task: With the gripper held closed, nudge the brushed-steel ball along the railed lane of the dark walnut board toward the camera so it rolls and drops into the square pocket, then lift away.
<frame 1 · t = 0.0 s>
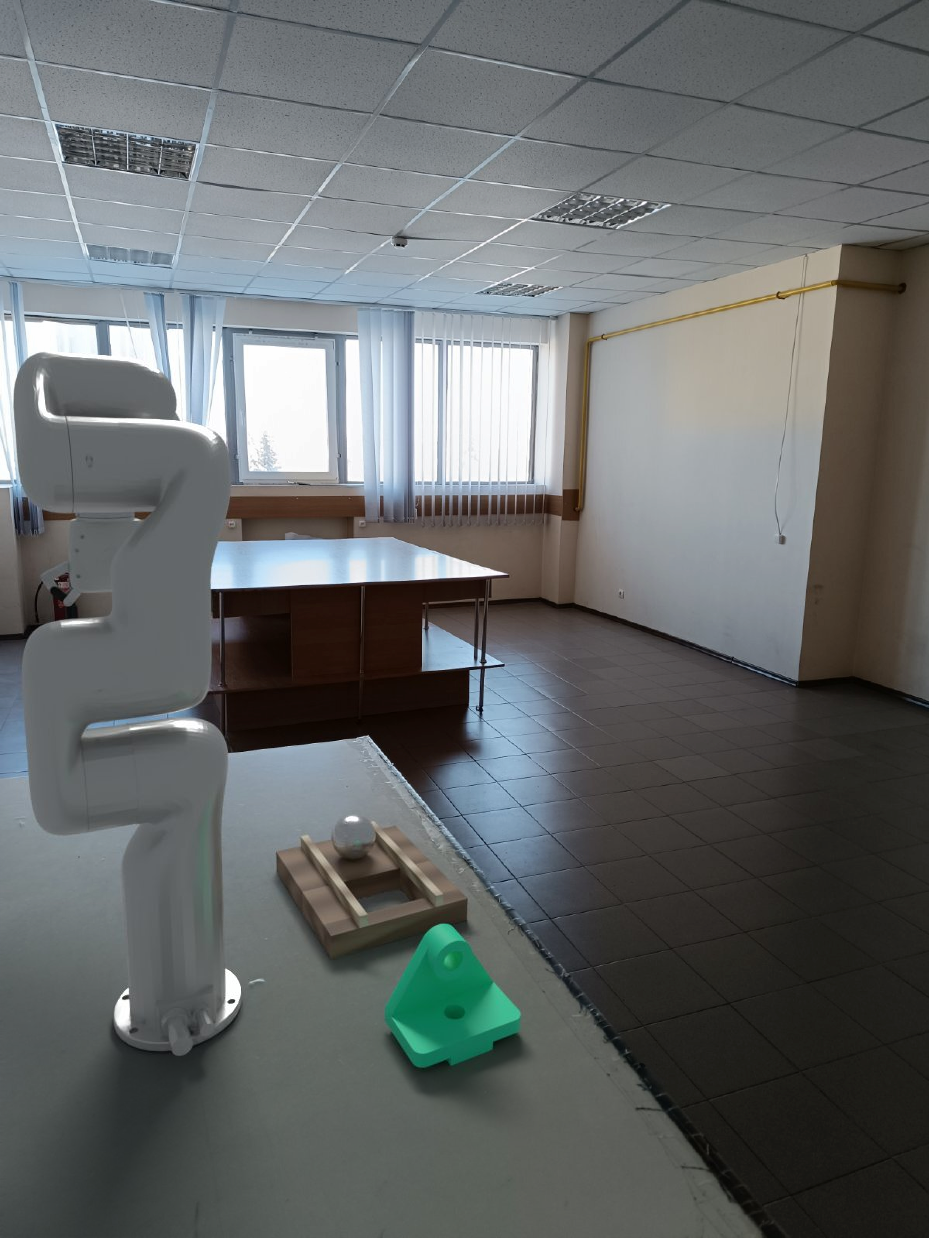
hand: (112, 629, 116), 31 cm above the table, tool pointing down, fingers open, 9 cm apart
steel ball: (353, 836, 110), point 6 cm above the table, touching walnut board
camera mount: (453, 1036, 83), on the table
walnut board: (367, 894, 107), on the table
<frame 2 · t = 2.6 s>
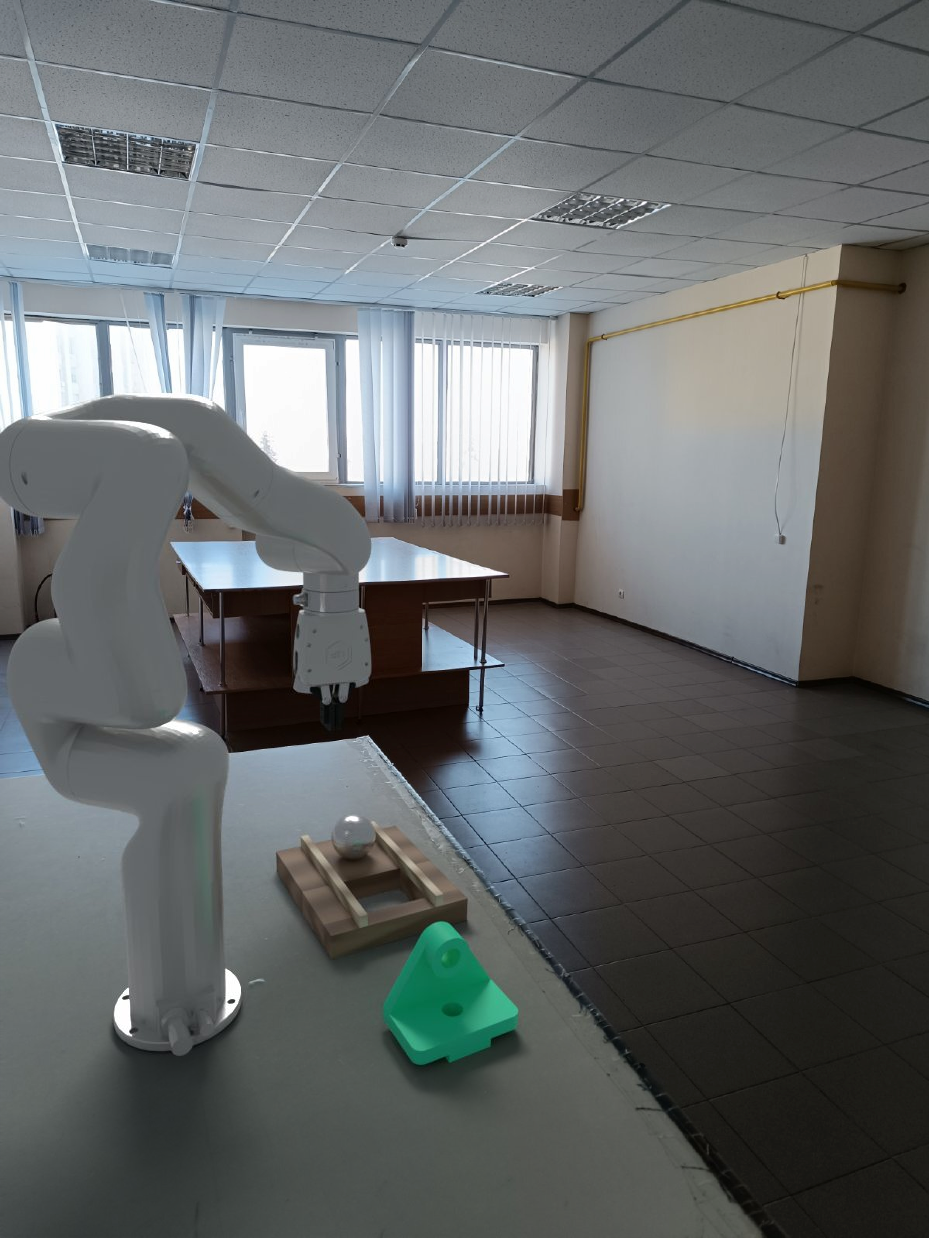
hand: (332, 727, 115), 19 cm above the table, tool pointing down, fingers closed
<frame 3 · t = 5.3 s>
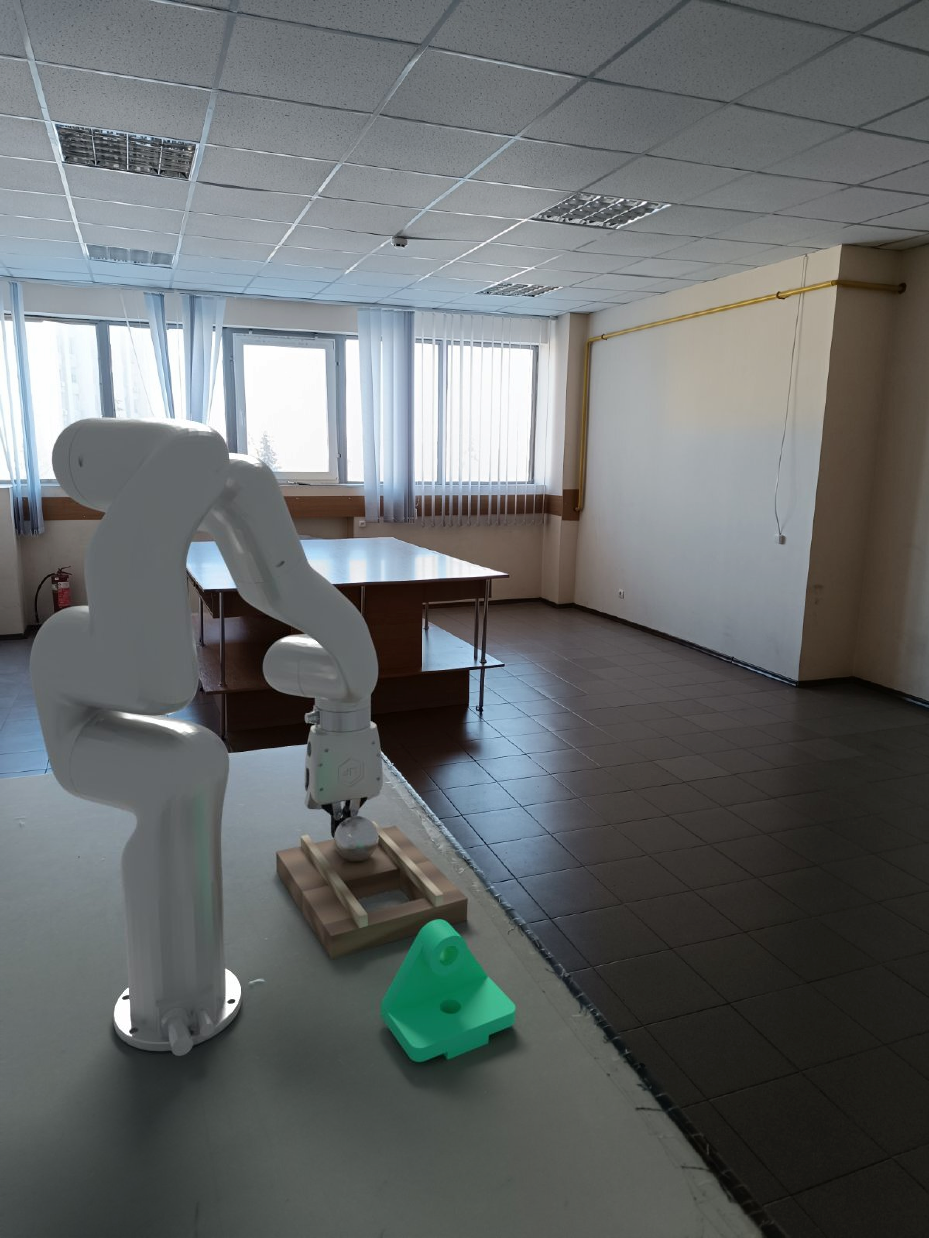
hand: (342, 840, 114), 4 cm above the table, tool pointing down, fingers closed
steel ball: (356, 838, 110), point 6 cm above the table, tilted 13°, touching walnut board
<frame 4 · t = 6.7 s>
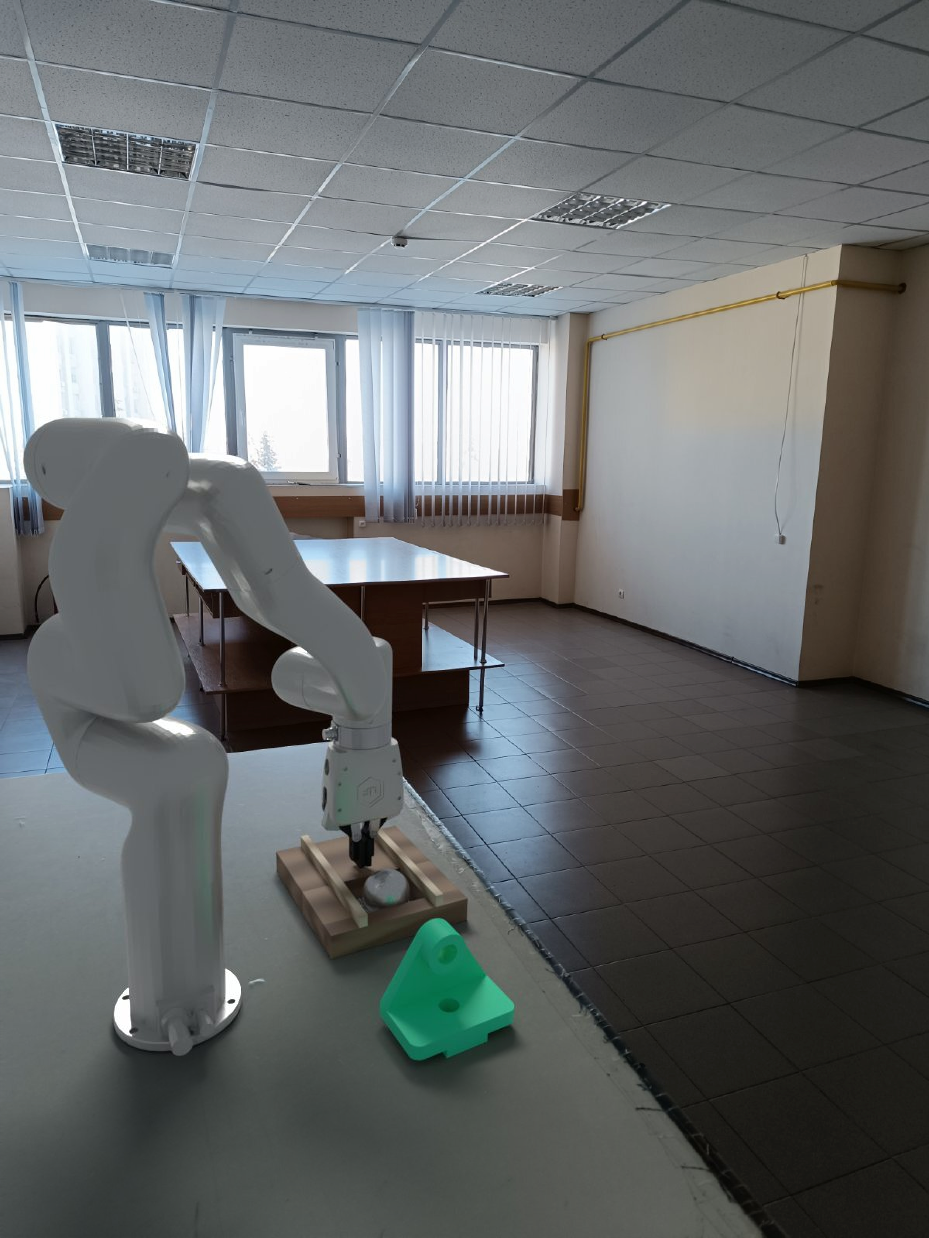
hand: (361, 862, 108), 4 cm above the table, tool pointing down, fingers closed
steel ball: (386, 893, 102), point 3 cm above the table, tilted 130°
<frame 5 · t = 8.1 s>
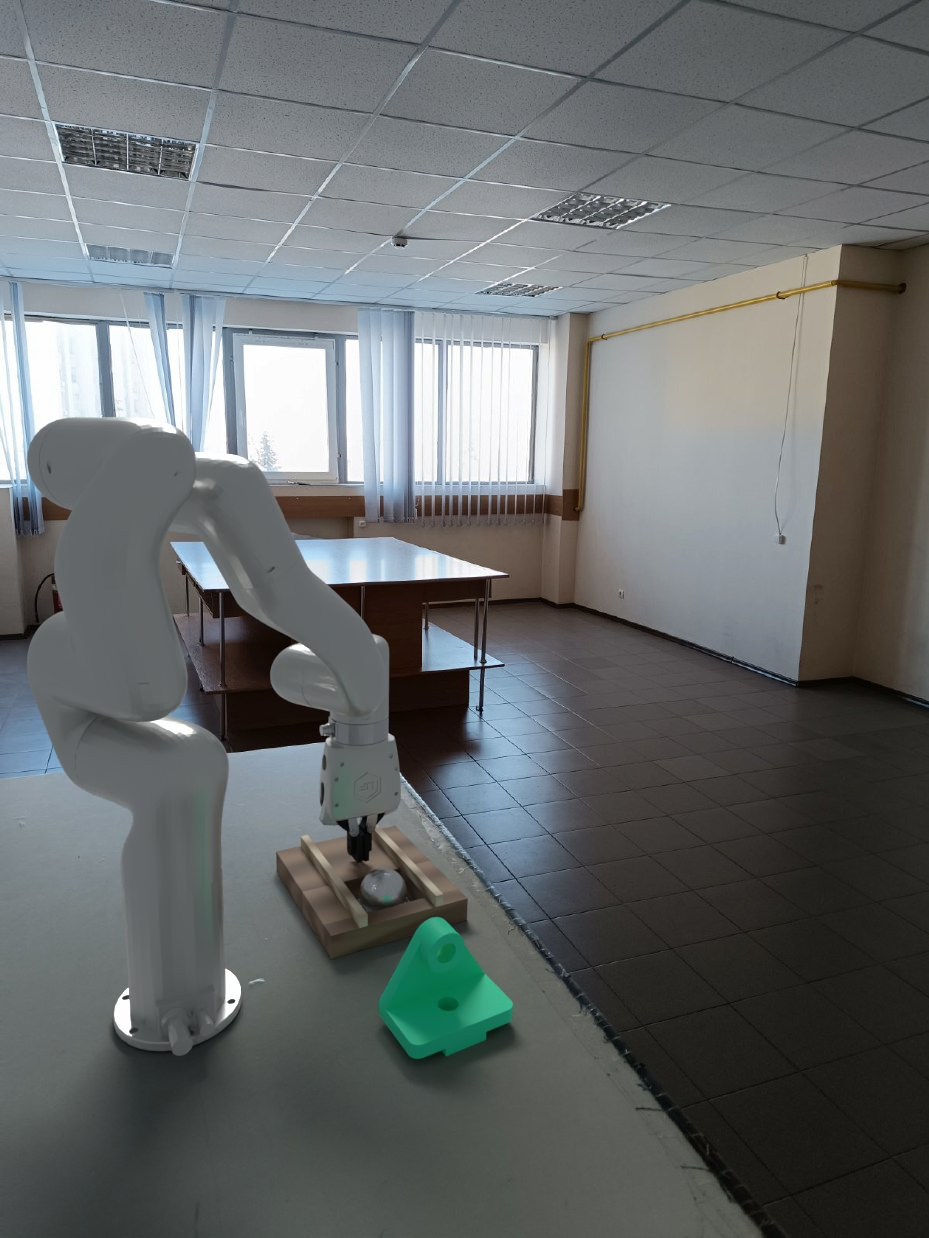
hand: (359, 857, 109), 4 cm above the table, tool pointing down, fingers closed
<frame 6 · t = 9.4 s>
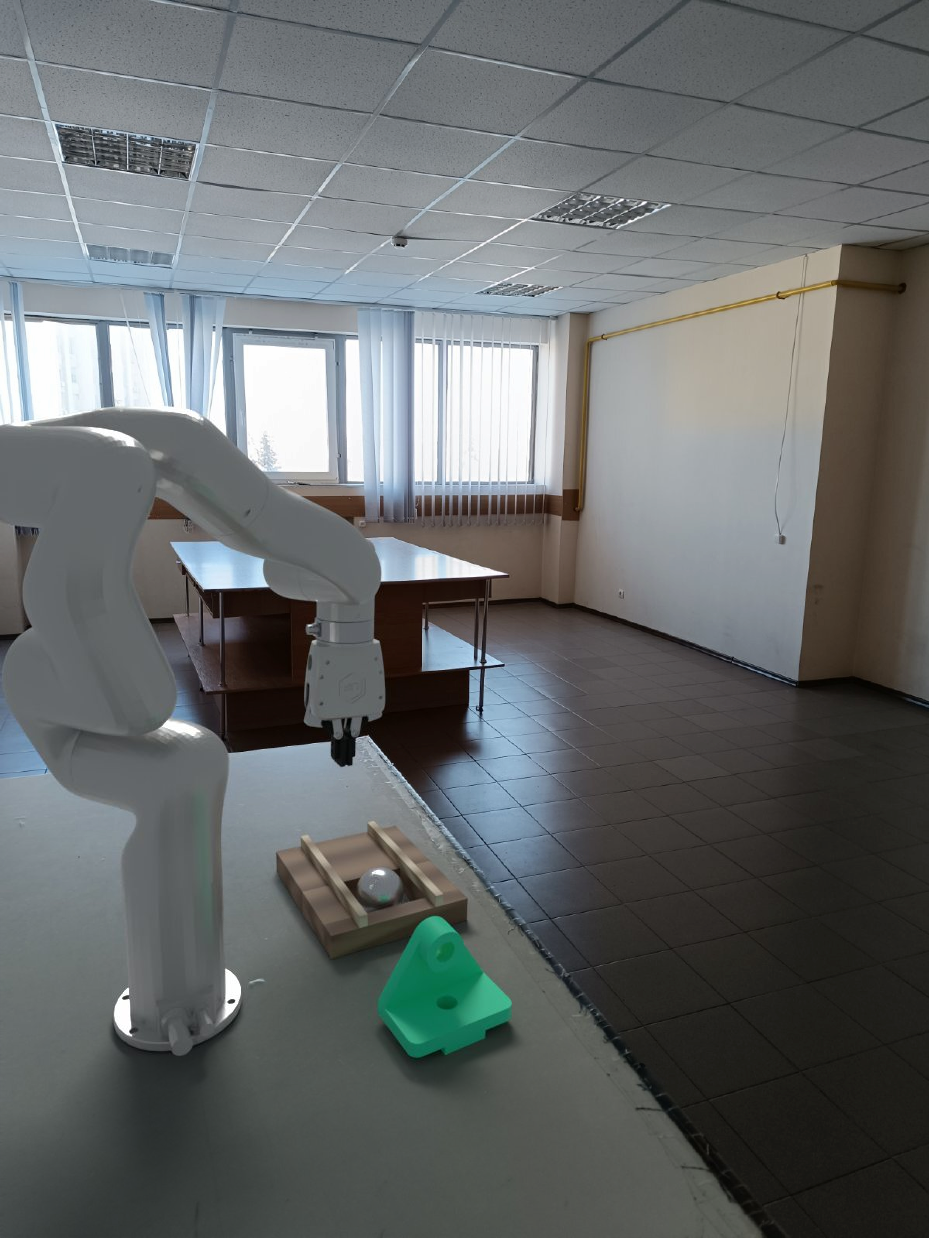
hand: (342, 762, 110), 16 cm above the table, tool pointing down, fingers closed
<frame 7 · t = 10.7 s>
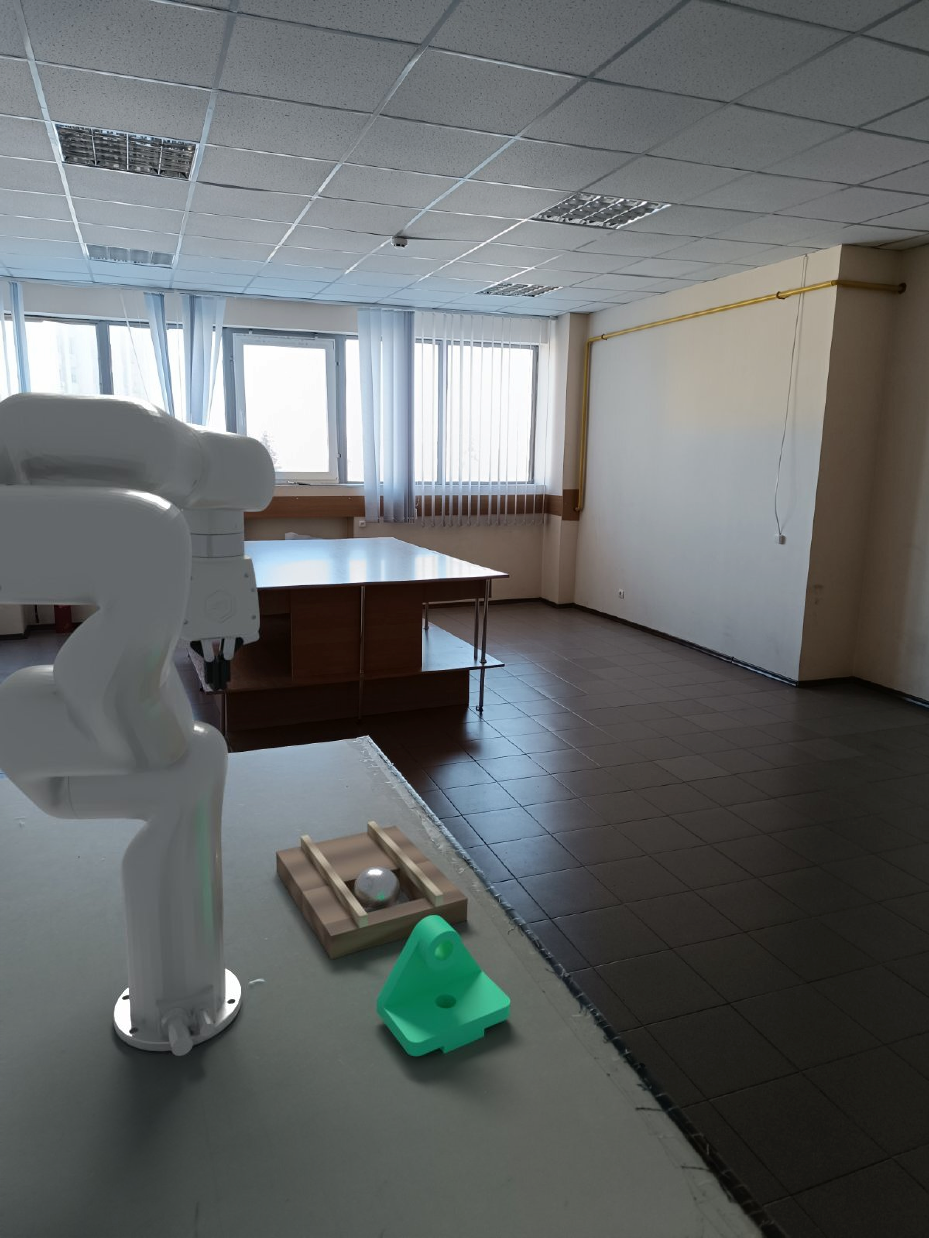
hand: (217, 688, 104), 27 cm above the table, tool pointing down, fingers closed
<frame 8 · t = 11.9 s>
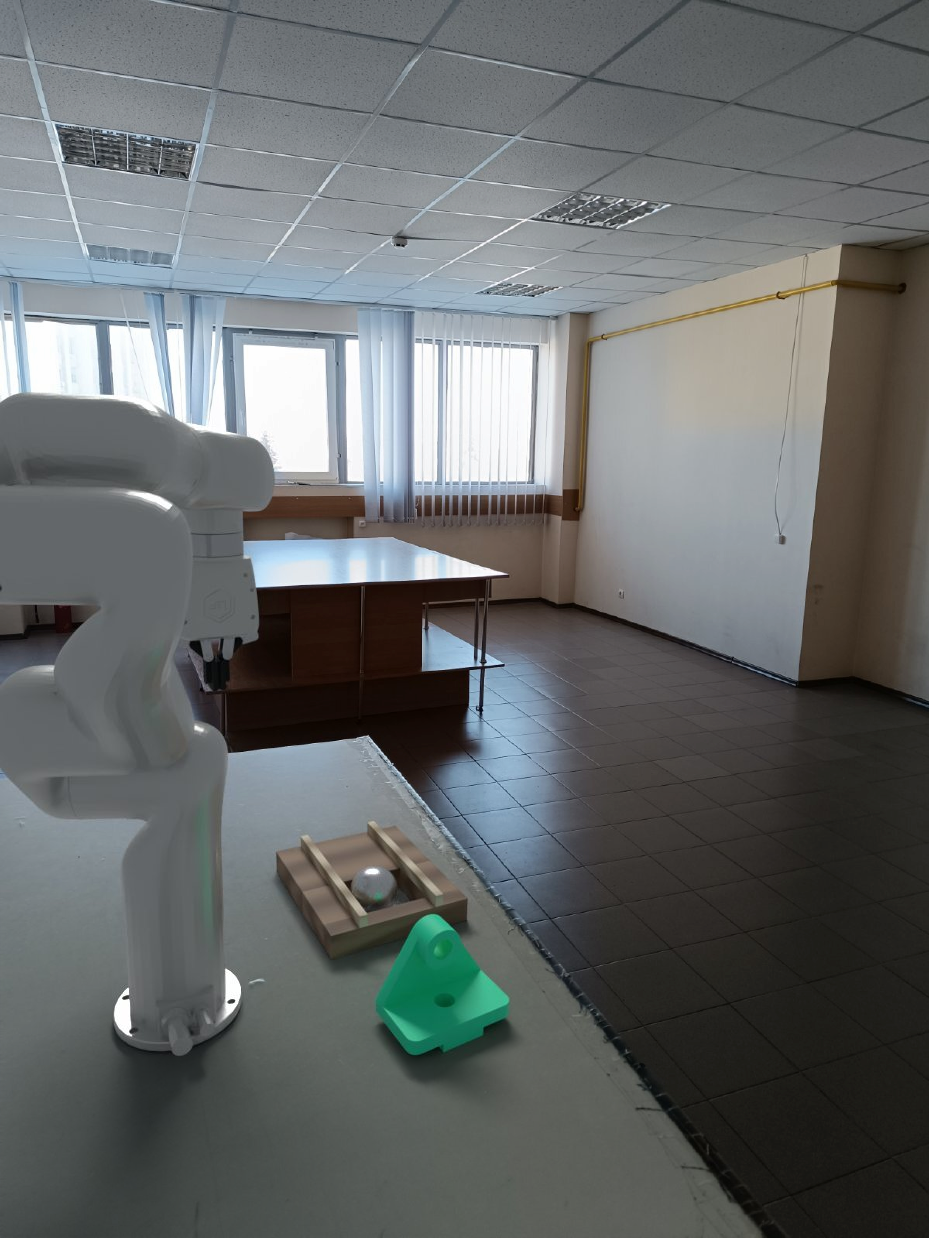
hand: (217, 687, 104), 27 cm above the table, tool pointing down, fingers closed
at the end: steel ball inside the target area on the walnut board (0.9 cm from its centre), point 3.0 cm above the walnut board's base; steel ball moved 9.7 cm from its start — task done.
